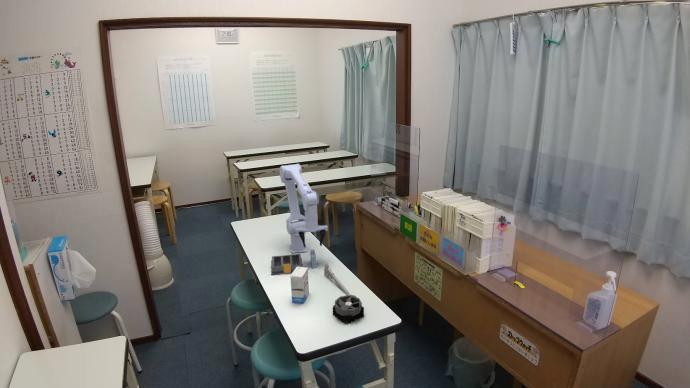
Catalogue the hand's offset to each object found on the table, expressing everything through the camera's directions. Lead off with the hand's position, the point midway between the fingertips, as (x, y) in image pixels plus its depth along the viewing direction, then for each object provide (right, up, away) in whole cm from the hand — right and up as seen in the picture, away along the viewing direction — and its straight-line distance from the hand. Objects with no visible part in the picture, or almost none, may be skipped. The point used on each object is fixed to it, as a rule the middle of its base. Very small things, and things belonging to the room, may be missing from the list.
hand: (312, 245), depth 185 cm
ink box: (-3, -18, -25) cm, 31 cm away
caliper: (+12, -15, -16) cm, 25 cm away
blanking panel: (0, -9, +3) cm, 10 cm away
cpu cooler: (+16, -21, -37) cm, 45 cm away
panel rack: (-12, -10, +1) cm, 16 cm away
